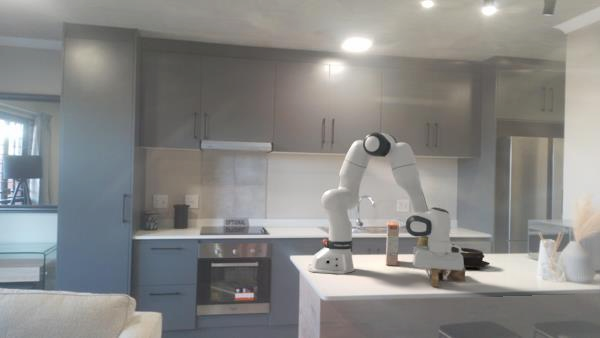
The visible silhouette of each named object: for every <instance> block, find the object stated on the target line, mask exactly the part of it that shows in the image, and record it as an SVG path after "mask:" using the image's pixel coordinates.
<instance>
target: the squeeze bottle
mask: <svg viewBox="0 0 600 338" xmlns="http://www.w3.org/2000/svg"><path fill="white" fill-rule="evenodd" d="M417 245H420V246H428V236H421V237H418V239H417Z"/></svg>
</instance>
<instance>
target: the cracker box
mask: <svg viewBox="0 0 600 338" xmlns="http://www.w3.org/2000/svg"><path fill="white" fill-rule="evenodd" d="M399 228H400V226H399V223H398V222H396V221H387V223H386V245H385V248H386V252H385V254H386V255H385V256H386V257H385V262H386V266H389V267H390V266H392V267H393V266H394V267H397V266H398V262H399V261H398V259H399V230H400V229H399Z"/></svg>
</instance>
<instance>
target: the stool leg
mask: <svg viewBox="0 0 600 338" xmlns="http://www.w3.org/2000/svg"><path fill="white" fill-rule="evenodd" d="M431 275H432V279H430V282H431V286H432V287H436V288H437V287H439V280H438V269H431Z"/></svg>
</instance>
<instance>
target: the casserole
mask: <svg viewBox="0 0 600 338" xmlns="http://www.w3.org/2000/svg"><path fill="white" fill-rule="evenodd" d="M460 248H461V249H462V252H461V253H460V254H461V255H462V256H463V261H464V267H465V270H474V269H475V270H476V269H479V268H484V267H486V266H489V265H490V264H491V263H490V262H489V261H485V260H483V259H484V258H485V255H484V252H483V251H482V250H480V249H475V248H467V247H460Z"/></svg>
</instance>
